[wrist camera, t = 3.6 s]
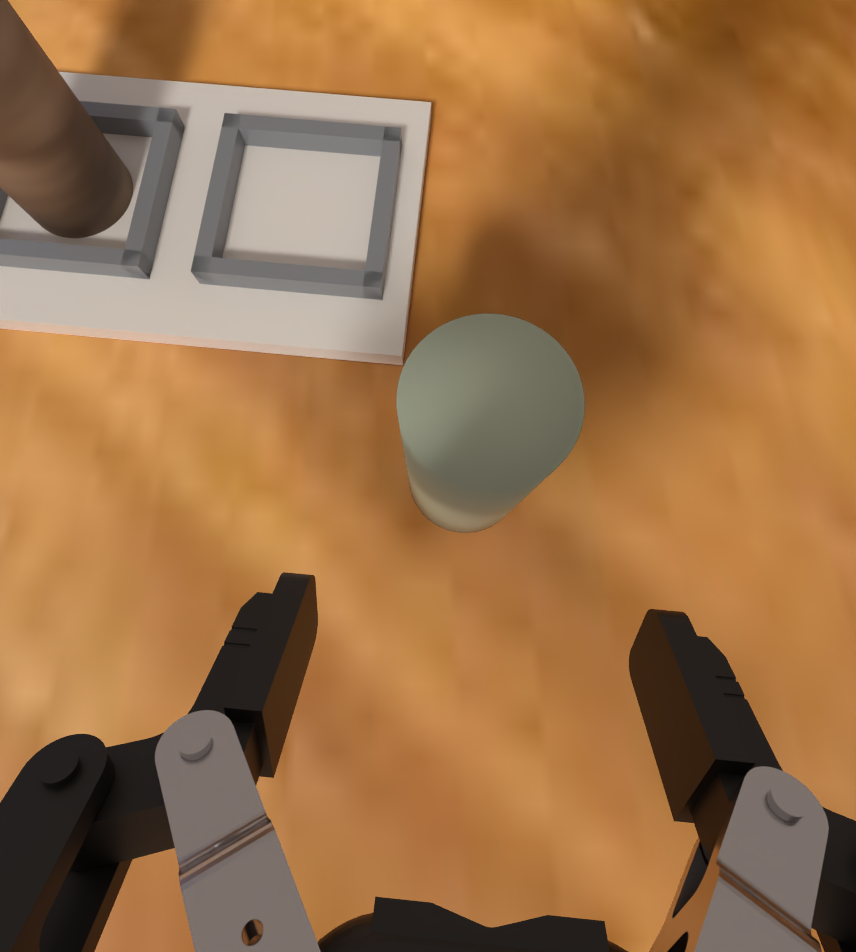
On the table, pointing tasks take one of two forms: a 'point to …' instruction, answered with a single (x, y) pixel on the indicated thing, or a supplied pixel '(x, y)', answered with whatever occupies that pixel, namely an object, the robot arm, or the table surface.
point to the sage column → (485, 417)
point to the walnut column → (53, 143)
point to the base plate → (235, 224)
